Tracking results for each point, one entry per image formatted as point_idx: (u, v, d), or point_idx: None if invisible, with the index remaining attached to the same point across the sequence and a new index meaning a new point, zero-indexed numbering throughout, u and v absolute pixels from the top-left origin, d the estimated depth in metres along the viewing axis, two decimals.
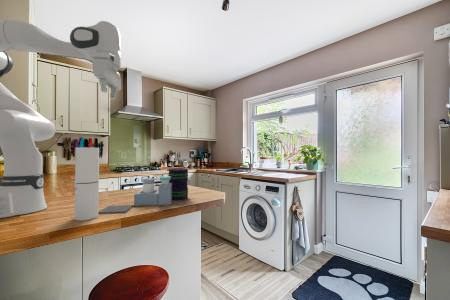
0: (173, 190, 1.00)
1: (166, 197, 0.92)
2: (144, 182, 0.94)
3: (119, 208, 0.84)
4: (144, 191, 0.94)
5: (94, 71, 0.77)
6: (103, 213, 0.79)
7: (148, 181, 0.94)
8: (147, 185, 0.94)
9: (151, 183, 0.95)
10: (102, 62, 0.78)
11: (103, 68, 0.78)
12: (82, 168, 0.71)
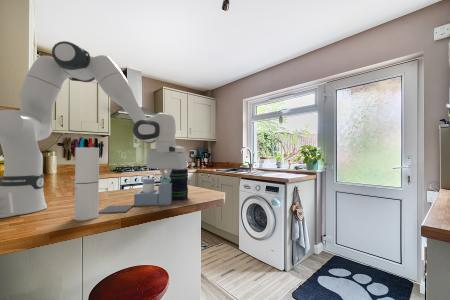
0: (173, 190, 1.00)
1: (166, 197, 0.92)
2: (144, 182, 0.94)
3: (119, 208, 0.84)
4: (144, 191, 0.94)
5: (182, 166, 0.90)
6: (103, 213, 0.79)
7: (148, 181, 0.94)
8: (147, 185, 0.94)
9: (151, 183, 0.95)
10: (185, 156, 0.92)
11: None
12: (82, 168, 0.71)
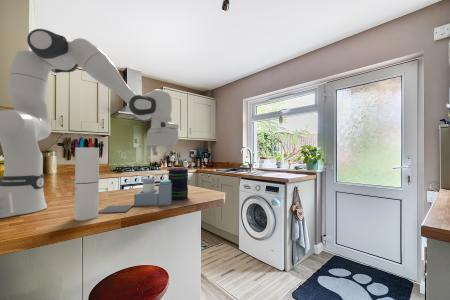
0: (173, 190, 1.00)
1: (166, 197, 0.92)
2: (144, 182, 0.94)
3: (119, 208, 0.84)
4: (144, 191, 0.94)
5: (172, 141, 0.88)
6: (103, 213, 0.79)
7: (148, 181, 0.94)
8: (147, 185, 0.94)
9: (151, 183, 0.95)
10: (177, 133, 0.90)
11: None
12: (82, 168, 0.71)
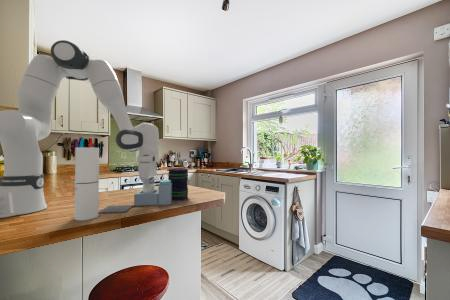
0: (173, 190, 1.00)
1: (166, 197, 0.92)
2: None
3: (119, 208, 0.84)
4: (144, 191, 0.94)
5: (140, 176, 0.86)
6: (103, 213, 0.79)
7: None
8: None
9: (151, 183, 0.95)
10: (147, 167, 0.87)
11: (147, 173, 0.87)
12: (82, 168, 0.71)
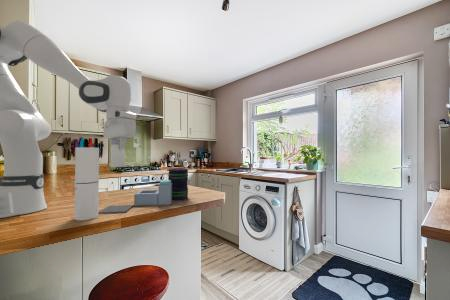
0: (173, 190, 1.00)
1: (166, 197, 0.92)
2: (116, 142, 0.82)
3: (119, 208, 0.84)
4: (116, 153, 0.82)
5: (127, 132, 0.78)
6: (103, 213, 0.79)
7: None
8: None
9: None
10: (133, 123, 0.80)
11: (135, 130, 0.80)
12: (82, 168, 0.71)
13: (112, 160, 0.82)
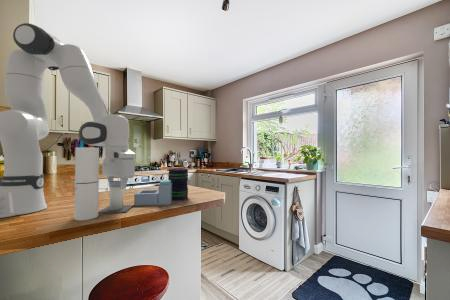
0: (173, 190, 1.00)
1: (166, 197, 0.92)
2: (115, 185, 0.82)
3: None
4: (115, 196, 0.81)
5: (126, 174, 0.77)
6: (103, 213, 0.79)
7: (120, 183, 0.83)
8: (119, 188, 0.82)
9: None
10: (132, 164, 0.80)
11: (134, 170, 0.80)
12: (82, 168, 0.71)
13: (111, 203, 0.81)
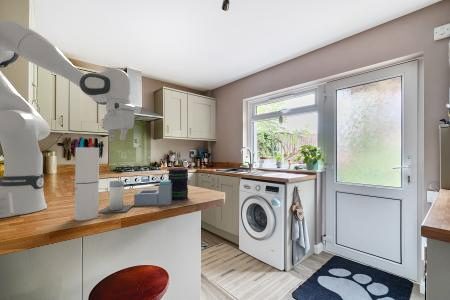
0: (173, 190, 1.00)
1: (166, 197, 0.92)
2: (115, 185, 0.82)
3: None
4: (115, 195, 0.82)
5: (126, 123, 0.80)
6: (103, 213, 0.79)
7: (120, 183, 0.83)
8: (119, 188, 0.82)
9: (123, 185, 0.84)
10: (132, 115, 0.83)
11: (133, 121, 0.83)
12: (83, 168, 0.71)
13: (111, 203, 0.81)
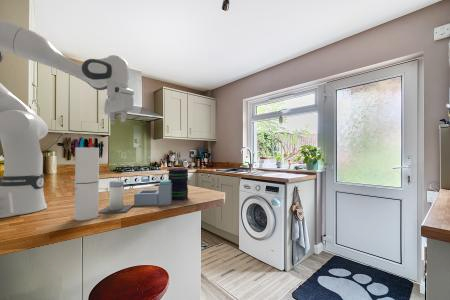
0: (173, 190, 1.00)
1: (166, 197, 0.92)
2: (115, 185, 0.81)
3: None
4: (115, 196, 0.81)
5: (126, 106, 0.88)
6: (103, 213, 0.79)
7: (120, 183, 0.83)
8: (119, 188, 0.82)
9: (123, 185, 0.84)
10: (131, 98, 0.90)
11: (132, 104, 0.90)
12: (82, 168, 0.71)
13: (111, 203, 0.81)
